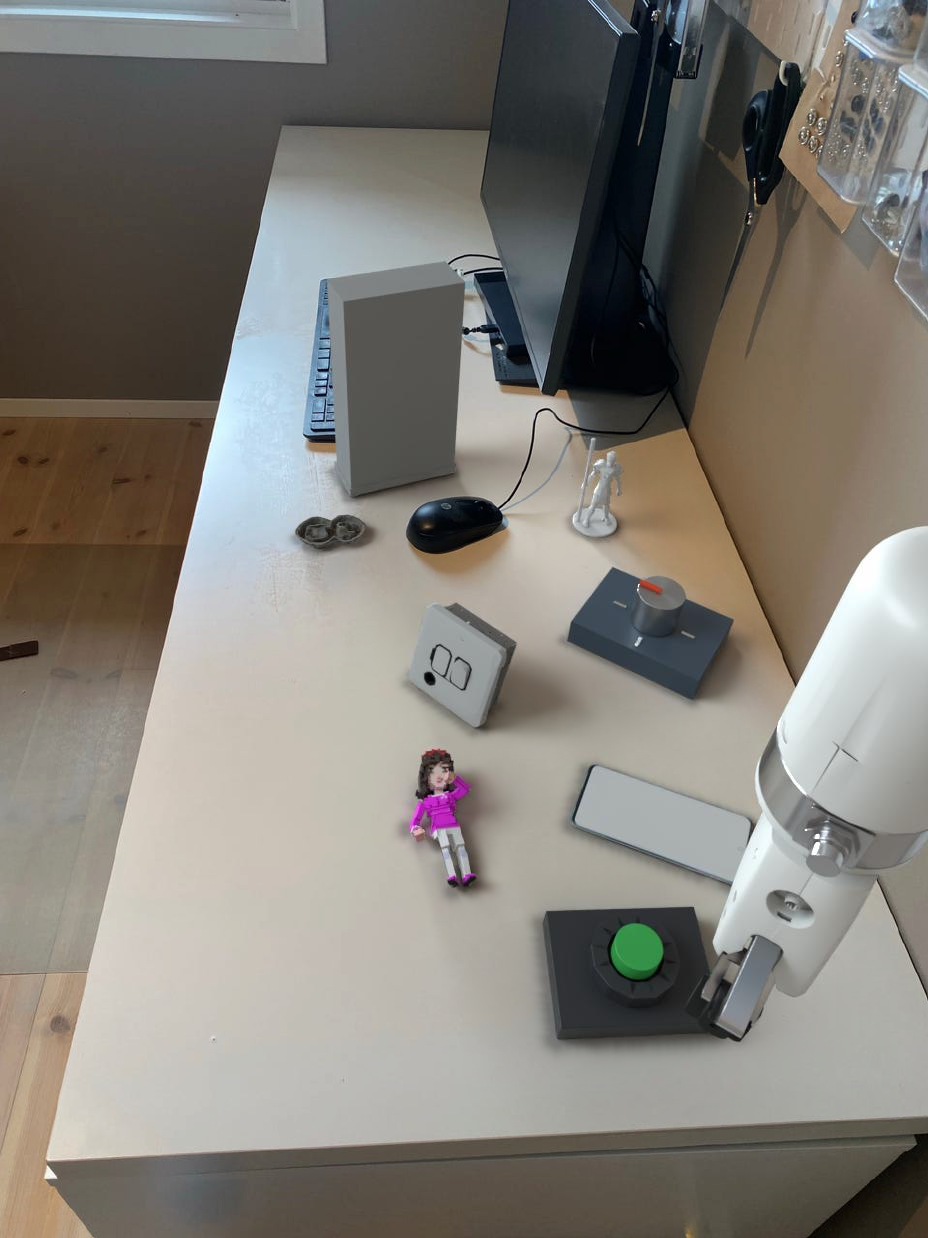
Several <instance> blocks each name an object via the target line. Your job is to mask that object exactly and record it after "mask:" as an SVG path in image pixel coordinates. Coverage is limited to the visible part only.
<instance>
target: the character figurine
mask: <svg viewBox="0 0 928 1238" xmlns="http://www.w3.org/2000/svg"><path fill="white" fill-rule="evenodd" d="M420 757H421V758H420V761H421V762H420V765H419V771H418V777H417V781H418V782H417V785H418V789H416V790H415V794H414V796H415V797H417V800H422V801H418V803H417V806H416V808H415V811H414V814H413V815H412V819H411V821H410V825H409V828H408V830H409V831H410V834H411V837H414V838H415V841H416V843H417V844H418V843H422V841H425V840H426V837H427V833H426V831H425V829H424V828H423V827H422V826H420V823H421V821H422V819H423V818H424V815H425V813H426V817H427V818H431V822H430V828H431V829H430V831H429V833H430V837H431V838H433V840H434V841H438V843H439V846H440V850H441V854H442V857H443V860H444V861H443V862H444V864H445V868H446V871H447V875H448V877H447V878H446V882H447V885H449V886H450V888H452V889H454V888H457V887H460V884H459V880H458V879H457V874H456V871H455V867H454V863H453V860H452V857H451V853H450V851H451V850H452V852H453V853H455V856H456V859H457V863H458V868H459V871H460V875H461V881H462V885H463V887H469V886H471V885H472V884H473V883H474V882H475V881H476V879H477V874H476V873H472V872H471V867H470V866H471V865H470V860H469V855H468V851H467V850H466V846H465V845H466V843H465V841H464V837H463V835H462V830H461V826H460V823H459V822H458V820H457V818H455V817H456V816H455V815H454V814H455V812H457V811H458V809H457V807H456V803H457V802H458V801H459V800H461V799H462V798H464V797H465V796H467V795H468V794H469V793H470V792H471V791H470V790H471V789H472V786H471V785H469V783H468V782H466V780H464V779H463V778H462V777H461V776H460V775H459V774H458V773H456V772H455V766H454V763H455V761H454V759H452V756H451V753H450V752H448V751H447V749H441V748H437V749H434V748H431V750H425V751H424V754H421V756H420Z"/></svg>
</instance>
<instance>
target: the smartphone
mask: <svg viewBox="0 0 928 1238" xmlns="http://www.w3.org/2000/svg"><path fill="white" fill-rule="evenodd" d="M570 823H571V825H572V826H573V827H574V828H576V829H579V830H582V831H585V832H587V833H590V834H593V835H595V836H598V837H601V838H603V839H606V840H609V841H611V842H614V843H616V844H619V845H622V846H625V847H627V848H631V849H633V850H636V851H639V852H642V853H645V854H647V855H649V856H653V857H656V858H659V859H661V860H662V861H666V862H669V863H672V864H674V865H677V866H679V867H682V868H685V869H687V870H690V871H693V872H696V873H698V874H701V875H704V876H707V877H710V878H712V879H715V880H718V881H721V882H723V883H726V884H729V885H731V886H732V884H733V881H734V879H735V876H736V873H737V871H738V868H739V866H740V863H741V860H742V858H743V855H744V853H745V850H746V848H747V845H748V843H749V841H750V838H751V836H752V829H753V821H752V819H751V818H749V817H748V816H747V815H743V814H740V813H738V812H734V811H731V810H729V809H726V808H723V807H720V806H717V805H714V804H711V803H709V802H706V801H703V800H700V799H698V798H695V797H691V796H688V795H686V794H682V793H680V792H677V791H674V790H672V789H669V788H666V787H663V786H660V785H657V784H654V783H651V782H648V781H646V780H643V779H640V778H637V777H635V776H631V775H628V774H626V773H623V772H621V771H617V770H614V769H611V768H609V767H606V766H603V765H599V764H596V763H595V764H594V763H593V764H591V765H590V766H589V767H588V769H587V773H586V775H585V778H584V780H583V784H582V786H581V789H580V791H579V794H578V797H577V799H576V803H575V806H574V809H573V811H572V814H571V817H570Z"/></svg>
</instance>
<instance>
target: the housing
mask: <svg viewBox="0 0 928 1238" xmlns="http://www.w3.org/2000/svg"><path fill="white" fill-rule="evenodd" d="M634 923H637V924H642V925H645V926H647V927H649V928H651V929H652V930H653V931H654V932H655V933H656V934H657V935H658V936H659V938H660V940H661V942H662V945H663V957H662V960H661V962H660V964H659V966H658V968H657V970H656V971H655V973H654V974H653V975H651V976H650V977H648V978H646V979H642V980H635V979H631V978H628V977H626V976H624V975H623V974H621V973H620V972H619V971H618V970H617V969H616V967H615V966H614V964H613V961H612V958H611V947H612V944H613V942H614V939H615V937H616V934H617V933H618V931H619V930H620V929H621V928H622V927H624V926H626V925H628V924H634ZM542 929H543V938H544V945H545V954H546V962H547V970H548V971H547V972H548V978H549V987H550V994H551V1003H552V1010H553V1018H554V1026H555V1036H556V1039H557V1040H564V1039H566V1040H567V1039H568V1040H569V1039H591V1038H592V1039H593V1038H615V1037H617V1038H618V1037H637V1036H640V1037H641V1036H664V1035H665V1036H666V1035H667V1036H668V1035H689V1034H691V1035H692V1034H709V1033H708V1032H706V1031H705V1030H703V1029H702V1028H701V1027H700V1026H699V1024H698V1020H697V1019H695V1018H693V1017H692V1016H690V1015H689V1014H687V1013H686V1012H685V1010H684V1008H685V1006H686V1004H687V1001H688V999H689V998H690V996H691V994H692V993H693V991H694V989H695V988H696V986H697V985H698V983H699V981H700V980H701V978H702V976H703V975H704V974H711V970H710V965H709V962H708V957H707V953H706V950H705V947H704V945H705V944H704V942H703V937H702V933H701V930H700V926H699V922H698V918H697V914H696V909H695V906H670V907H669V906H668V907H667V906H665V907H636V908H635V907H633V908H632V907H631V908H630V907H629V908H601V909H600V908H599V909H598V908H597V909H566V910H565V909H564V910H563V909H561V910H546V911H545V913H544V916H543V921H542Z"/></svg>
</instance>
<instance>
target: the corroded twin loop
mask: <svg viewBox="0 0 928 1238" xmlns="http://www.w3.org/2000/svg"><path fill="white" fill-rule="evenodd" d="M341 527H345V528H346V532H345V533H344V532H343V533H342V532H341ZM321 528H323V532H324V536H322V537H321V536H320V537H315V536H318V535H319V529H321ZM366 528H367V524H366V523H365V522H364V521H363V520H362V519H361V518H359V517H357V516H354V515H350V514H339V515H336V516H335V517H334V518H332V519H328V518H325V517H321V516H311V517H309V518H307V519H305V520H303V521H302V522H300V523H299V525H298V526H297V527H296V528H295V530H294V532H295V533H294V534H295V536H296V537H297V538H298V539H299V540H300V541H302V543H304V544H306V545H309V547H311V548H314V549H320V548H324V547H327V546H328V545H330V543H331V542H333V541H335V542H337V543H341V544H343V545H350V544H352V543H353V542H356V541H358V540H359V538H361V536H362V535H363V533H364V532H365V530H366Z"/></svg>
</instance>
